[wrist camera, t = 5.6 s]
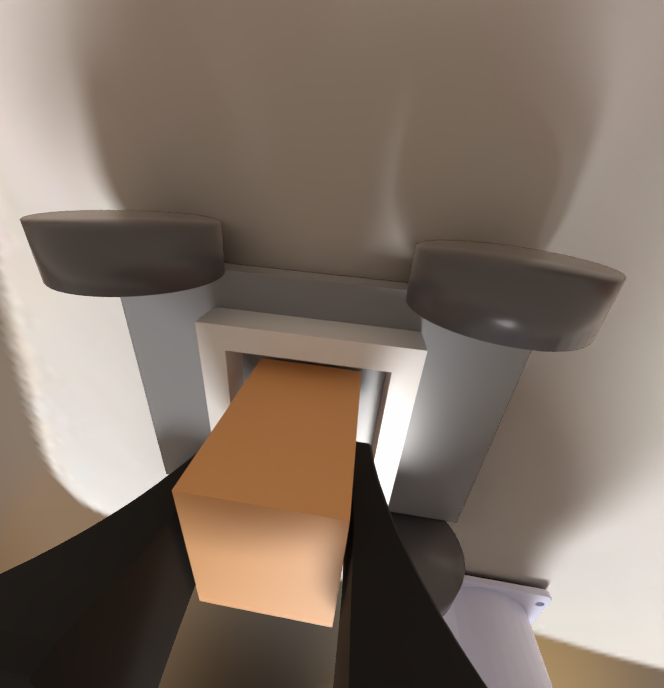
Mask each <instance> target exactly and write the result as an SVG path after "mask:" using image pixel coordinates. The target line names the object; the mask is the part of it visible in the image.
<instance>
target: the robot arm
mask: <svg viewBox="0 0 664 688" xmlns="http://www.w3.org/2000/svg"><path fill="white" fill-rule="evenodd" d="M196 454H197V453H195V454H194V455H193V456H192V457H191V458H189V459H188V460H187V461H186V462H185V463H183V464H182V465H181V466H180V467H178V468H177V469H176V470H174V471H173V472H172V473H171V474H169V475H168V476H167V477H165V478H164V479H163V480H162V481H160V482H159V483H158V484H156V485H155V486H153V487H152V488H151V489H149V490H148V491H146V492H145V493H144V494H142V495H141V496H139V497H138V498H136V499H135V500H133V501H132V502H130V503H129V504H127V505H126V506H124V507H123V508H121V509H120V510H118V511H116V512H115V513H113V514H112V515H110V516H108V517H107V518H105V519H103V520H102V521H100V522H98V523H97V524H95V525H93V526H92V527H90V528H88V529H87V530H85V531H83V532H81V533H80V534H78V535H76V536H74V537H72V538H71V539H69V540H67V541H65V542H63V543H61V544H60V545H58V546H56V547H54V548H52V549H50V550H48V551H46V552H44V553H42V554H40V555H38V556H37V557H35V558H33V559H31V560H29V561H27V562H24V563H23V564H20V565H18V566H16V567H14V568H12V569H10V570H8V571H6V572H3V573H2V574H0V688H158V686H159V683H160V680H161V677H162V674H163V672H164V669H165V666H166V663H167V660H168V658H169V655H170V652H171V649H172V646H173V644H174V641H175V638H176V635H177V632H178V629H179V627H180V624H181V622H182V619H183V616H184V613H185V611H186V608H187V606H188V603H189V600H190V598H191V595H192V592H193V590H194V587H195V585H196V583H195V580H194V576H193V572H192V568H191V564H190V560H189V556H188V552H187V548H186V544H185V540H184V536H183V533H182V529H181V525H180V521H179V517H178V513H177V509H176V505H175V501H174V497H173V493H172V489H173V488H174V486H175V485H176V483H177V482H178V480H179V479H180V477H181V476H182V474H183V473H184V472H185V470H186V469H187V467H188V466H189V464H190V463H191V461H192V460H193V458H194V457H195V455H196ZM551 600H552V599H551V596H550V594H549V592H548V591H547V590H545V589H540V588H535V587H529V586H524V585H518V584H513V583H507V582H502V581H496V580H491V579H485V578H480V577H474V576H468V575H464V579H463V583H462V586H461V588H460V590H459V592H458V594H457V596H456V598H455V600H454V601H453V603H452V605H451V607H450V609H449V610H448V612H447V613H446V614H445V615H444V616H443V617H442V615H441V613H440V611H439V610H438V608H437V606H436V604H435V603H434V601H433V599H432V597H431V595H430V594H429V592H428V590H427V588H426V587H425V585H424V583H423V581H422V579H421V577H420V576H419V574H418V572H417V570H416V568H415V566H414V564H413V562H412V560H411V558H410V556H409V554H408V551H407V549H406V547H405V545H404V543H403V541H402V539H401V536H400V534H399V532H398V529H397V527H396V525H395V522H394V520H393V517H392V515H391V512H390V510H389V507H388V504H387V502H386V499H385V496H384V493H383V490H382V487H381V484H380V481H379V477H378V474H377V470H376V466H375V462H374V458H373V452H372V446H371V445H370V444H369V443H364V442H357V441H356V449H355V462H354V475H353V488H352V501H351V514H350V524H349V530H348V536H347V542H346V548H345V554H344V560H343V586H342V599H341V610H340V621H339V631H338V642H337V643H338V644H337V653H336V663H335V674H334V685H333V688H553V687H552V684H551V681H550V678H549V675H548V673H547V670H546V667H545V664H544V661H543V659H542V656H541V653H540V650H539V647H538V644H537V642H536V639H535V636H534V633H533V630H532V628H531V625H532V623H533V622H534V621H535V620H536V619H537V617H538V616H539V615H540V614H541V613H542V611H543V610H544V609H545V608H546V607H547V605H548V604H549V603H550V602H551Z"/></svg>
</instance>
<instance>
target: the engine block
mask: <svg viewBox="0 0 664 688" xmlns="http://www.w3.org/2000/svg"><path fill="white" fill-rule="evenodd" d="M361 372H362V371H354V370H347V369H339V368H332V367H324V366H317V365H309V364H302V363H294V362H287V361H279V360H272V359H264V358H261V360H260V361H259V362H258V364H257V365H256V367H255V368H254V370H253V371H252V373H251V374H250V376H249V377H248V379H247V380H246V382H245V383H244V385H243V386H242V388H241V389H240V390H239V392H238V393H237V395H236V396H235V398H234V399H233V401H232V402H231V404H230V405H229V407H228V408H227V410H226V411H225V413H224V414H223V416H222V417H221V418H220V420H219V421H218V423H217V424H216V426H215V427H214V429H213V430H212V432H211V433H210V435H209V436H208V438H207V439H206V441H205V442H204V444H203V445H202V446H201V448H200V449H199V451H198V452H197V454H196V455H195V457H194V458H193V460H192V461H191V463H190V464H189V466H188V467H187V469H186V470H185V472H184V473H183V474H182V476H181V477H180V479H179V480H178V482H177V483H176V485H175V486H174V488H173V489H172V493H173V497H174V501H175V505H176V509H177V513H178V517H179V521H180V525H181V529H182V533H183V536H184V540H185V544H186V548H187V552H188V556H189V560H190V564H191V568H192V572H193V576H194V580H195V583H196V587H197V591H198V594H199V599H200V601H204V602H208V603H213V604H218V605H224V606H228V607H233V608H238V609H243V610H249V611H254V612H259V613H263V614H268V615H273V616H278V617H283V618H288V619H293V620H298V621H303V622H308V623H313V624H318V625H323V626H328V627H332V625H333V619H334V613H335V607H336V601H337V595H338V589H339V583H340V577H341V571H342V566H343V560H344V554H345V548H346V542H347V536H348V530H349V524H350V514H351V501H352V488H353V475H354V462H355V449H356V436H357V424H358V411H359V398H360V385H361Z"/></svg>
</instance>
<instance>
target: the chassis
mask: <svg viewBox="0 0 664 688" xmlns="http://www.w3.org/2000/svg"><path fill="white" fill-rule="evenodd" d="M20 221H21V224H22V227H23V229H24V232H25V235H26V237H27V240H28V243H29V245H30V248H31V251H32V253H33V256H34V259H35V261H36V264H37V267H38V269H39V272H40V275H41V277H42V280H43V283H44V284H45V285H46V286H47V287H49V288H51V289H53V290H56V291H59V292H64V293H68V294H75V295H83V296H96V297H120V298H121V302H122V306H123V310H124V313H125V317H126V321H127V325H128V329H129V333H130V336H131V340H132V344H133V348H134V352H135V356H136V359H137V363H138V367H139V371H140V375H141V379H142V382H143V386H144V390H145V394H146V398H147V402H148V405H149V409H150V413H151V417H152V421H153V425H154V428H155V432H156V436H157V440H158V444H159V448H160V451H161V455H162V459H163V463H164V467H165V471H166V474H171V473H172V472H173V471H174V470H176V469H177V468H178V467H180V466H181V465H182V464H183V463H185V462H186V461H187V460H188V459H189V458H191V457H192V456H193V455H194V454H195V453H197V452H198V451H199V449H200V448H201V446H202V445H203V444H204V442H205V441H206V439H207V438H208V436H209V435H210V433H211V432H212V430H213V429H214V427H215V426H216V424H217V423H218V421H219V420H220V418H221V417H222V416H223V414H224V413H225V411H226V410H227V408H228V407H229V405H230V404H231V402H232V401H233V399H234V398H235V396H236V395H237V393H238V392H239V390H240V389H241V388H242V386H243V385H244V383H245V382H246V380H247V379H248V377H249V376H250V374H251V373H252V371H253V370H254V368H255V367H256V365H257V364H258V362H259V361H260V360H261V358H264V359H272V360H279V361H287V362H294V363H302V364H309V365H317V366H324V367H332V368H339V369H347V370H354V371H362V372H361V385H360V398H359V411H358V424H357V436H356V441H357V442H364V443H369V444H370V445H371V446H372V452H373V458H374V462H375V466H376V470H377V474H378V477H379V481H380V484H381V487H382V490H383V493H384V496H385V499H386V502H387V504H388V507H389V510H390V512H391V515H392V517H393V520H394V522H395V525H396V527H397V529H398V532H399V534H400V536H401V539H402V541H403V543H404V545H405V547H406V549H407V551H408V554H409V556H410V558H411V560H412V562H413V564H414V566H415V568H416V570H417V572H418V574H419V576H420V577H421V579H422V581H423V583H424V585H425V587H426V588H427V590H428V592H429V594H430V595H431V597H432V599H433V601H434V603H435V604H436V606H437V608H438V610H439V611H440V613H441V615H442V617H443V616H444V615H445V614H446V613H447V612H448V610H449V609H450V607H451V605H452V603H453V601H454V600H455V598H456V596H457V594H458V592H459V590H460V588H461V586H462V583H463V579H464V574H465V562H464V556H463V552H462V549H461V546H460V543H459V541H458V539H457V537H456V535H455V533H454V532H453V531H452V529H451V528H450V526H449V525H448V524H447V523H446V521H450V522H457V520H458V518H459V515H460V513H461V511H462V509H463V506H464V504H465V502H466V499H467V497H468V495H469V492H470V490H471V488H472V486H473V483H474V481H475V479H476V476H477V474H478V472H479V469H480V467H481V465H482V463H483V460H484V458H485V456H486V453H487V451H488V449H489V447H490V444H491V442H492V440H493V437H494V435H495V433H496V430H497V428H498V426H499V424H500V421H501V419H502V417H503V414H504V412H505V410H506V407H507V405H508V403H509V401H510V398H511V396H512V394H513V391H514V389H515V387H516V384H517V382H518V380H519V378H520V375H521V373H522V371H523V368H524V366H525V364H526V362H527V359H528V357H529V355H530V352H531V350H535V351H552V352H558V351H572V350H578V349H581V348H584V347H586V346H588V345H590V344H591V342H592V341H593V339H594V337H595V336H596V334H597V332H598V330H599V328H600V326H601V324H602V322H603V321H604V319H605V317H606V315H607V313H608V311H609V309H610V307H611V306H612V304H613V302H614V300H615V298H616V296H617V294H618V292H619V291H620V289H621V287H622V285H623V283H624V281H625V279H626V276H625V275H624V274H623V273H621V272H619V271H617V270H615V269H613V268H610V267H607V266H604V265H601V264H598V263H594V262H591V261H587V260H583V259H579V258H575V257H571V256H566V255H561V254H557V253H551V252H546V251H541V250H535V249H529V248H523V247H516V246H509V245H502V244H493V243H484V242H473V241H459V240H430V241H423V242H419V243H417V245H416V248H415V253H414V258H413V264H412V269H411V274H410V279H409V283H403V282H394V281H385V280H376V279H367V278H357V277H348V276H339V275H330V274H320V273H311V272H302V271H293V270H284V269H274V268H265V267H256V266H247V265H238V264H228V263H224V253H223V242H222V230H221V222H220V221H219V220H217V219H214V218H210V217H205V216H199V215H192V214H183V213H172V212H157V211H134V210H80V211H60V212H47V213H39V214H32V215H28V216H24V217H22V218H21V219H20Z"/></svg>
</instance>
